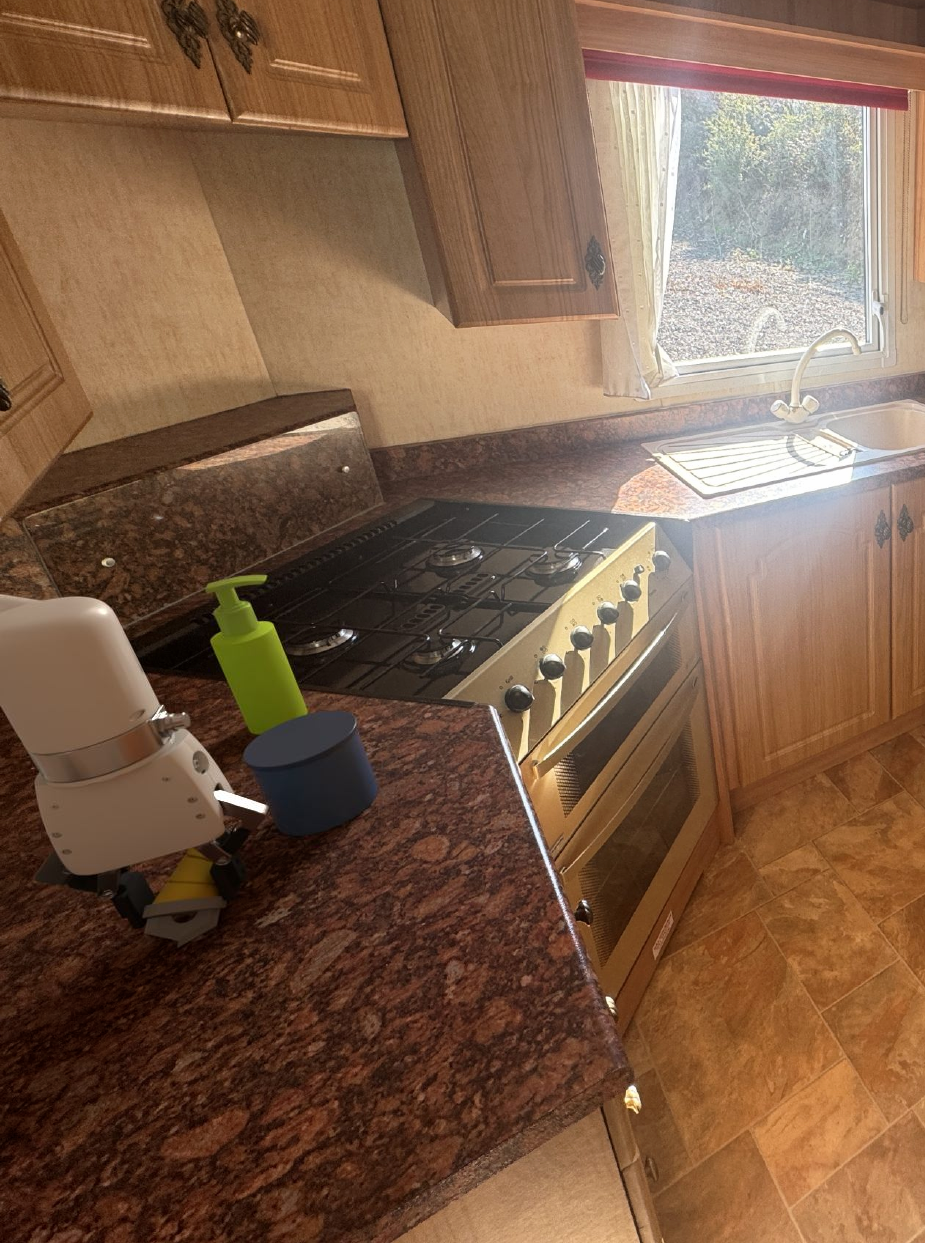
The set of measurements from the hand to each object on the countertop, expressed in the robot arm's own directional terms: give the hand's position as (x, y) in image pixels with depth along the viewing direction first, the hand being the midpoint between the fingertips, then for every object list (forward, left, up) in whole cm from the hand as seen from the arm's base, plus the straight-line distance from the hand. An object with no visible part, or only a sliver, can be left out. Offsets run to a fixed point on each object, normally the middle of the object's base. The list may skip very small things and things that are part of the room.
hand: (191, 901), depth 67 cm
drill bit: (0, 0, -2) cm, 2 cm away
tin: (+8, +12, -2) cm, 15 cm away
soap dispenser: (0, +34, -2) cm, 34 cm away
